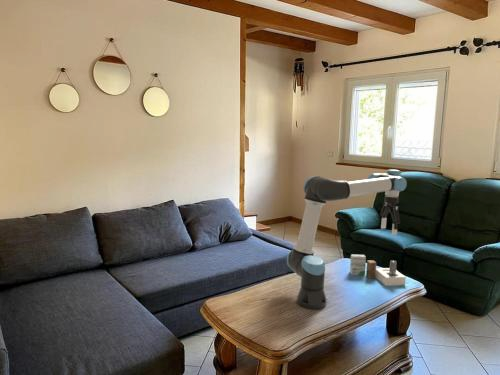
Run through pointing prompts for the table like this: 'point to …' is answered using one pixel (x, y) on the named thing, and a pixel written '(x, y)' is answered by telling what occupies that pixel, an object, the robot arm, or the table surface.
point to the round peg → (392, 268)
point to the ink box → (357, 264)
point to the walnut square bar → (371, 269)
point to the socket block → (389, 277)
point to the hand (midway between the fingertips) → (388, 231)
